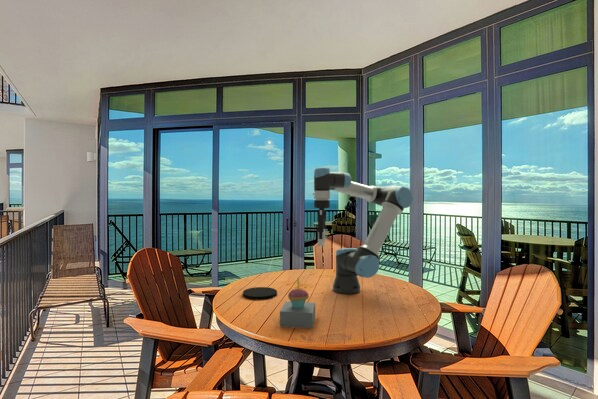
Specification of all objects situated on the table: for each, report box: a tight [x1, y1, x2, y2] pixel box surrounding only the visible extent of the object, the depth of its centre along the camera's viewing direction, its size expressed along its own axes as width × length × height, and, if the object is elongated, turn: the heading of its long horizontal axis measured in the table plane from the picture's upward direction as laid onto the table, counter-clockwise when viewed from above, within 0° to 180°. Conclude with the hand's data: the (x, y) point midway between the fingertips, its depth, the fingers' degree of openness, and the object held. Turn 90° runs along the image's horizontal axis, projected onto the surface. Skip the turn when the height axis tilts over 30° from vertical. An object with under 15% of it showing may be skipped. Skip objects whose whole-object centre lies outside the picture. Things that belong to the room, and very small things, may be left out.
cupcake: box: [288, 278, 310, 308], centre depth 141 cm, size 9×8×12 cm
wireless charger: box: [242, 286, 278, 301], centre depth 179 cm, size 18×18×2 cm
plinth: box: [279, 300, 316, 329], centre depth 141 cm, size 13×13×6 cm
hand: (321, 243), depth 164 cm, fingers open, 13 cm apart
